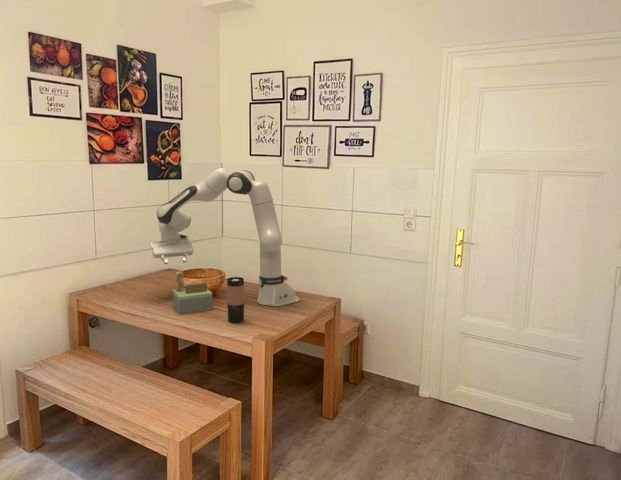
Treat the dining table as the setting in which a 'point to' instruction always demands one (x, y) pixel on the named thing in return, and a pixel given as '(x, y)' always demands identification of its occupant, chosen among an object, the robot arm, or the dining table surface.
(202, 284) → the lid
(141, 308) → the dining table surface
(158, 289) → the dining table surface
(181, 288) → the wooden key
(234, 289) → the travel mug
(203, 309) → the grey open box
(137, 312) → the dining table surface
